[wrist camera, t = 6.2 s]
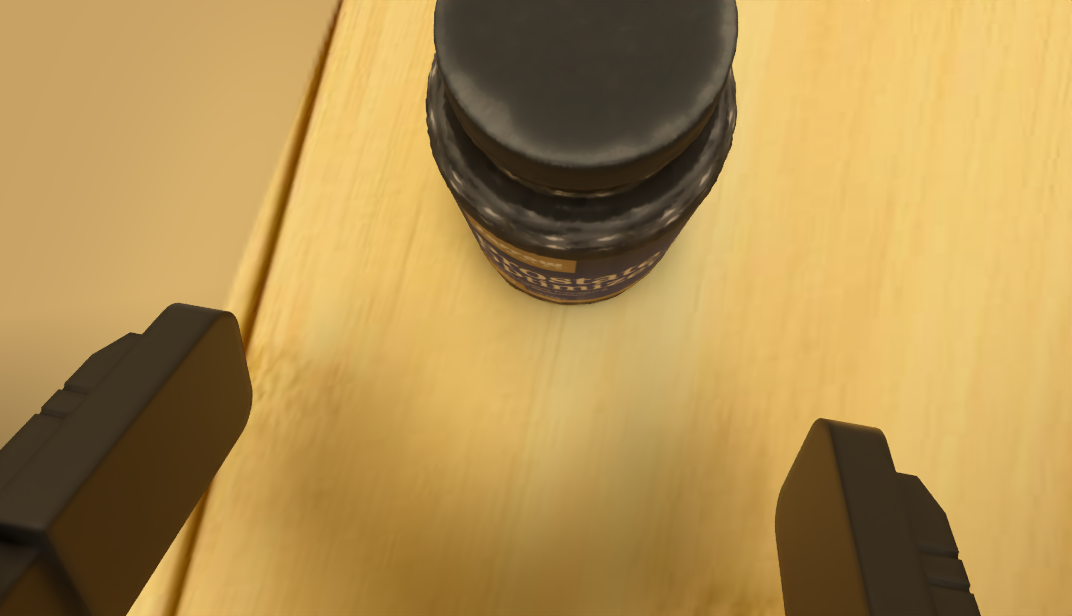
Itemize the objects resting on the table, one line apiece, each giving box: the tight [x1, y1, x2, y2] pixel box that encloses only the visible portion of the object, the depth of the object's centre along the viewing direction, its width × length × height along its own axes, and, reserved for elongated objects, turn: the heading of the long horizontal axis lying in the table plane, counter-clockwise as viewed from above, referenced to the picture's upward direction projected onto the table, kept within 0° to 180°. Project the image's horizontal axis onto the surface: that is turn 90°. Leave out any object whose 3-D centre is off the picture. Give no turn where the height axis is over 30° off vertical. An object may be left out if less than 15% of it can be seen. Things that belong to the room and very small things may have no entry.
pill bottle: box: [426, 0, 738, 305], centre depth 16 cm, size 6×6×11 cm
